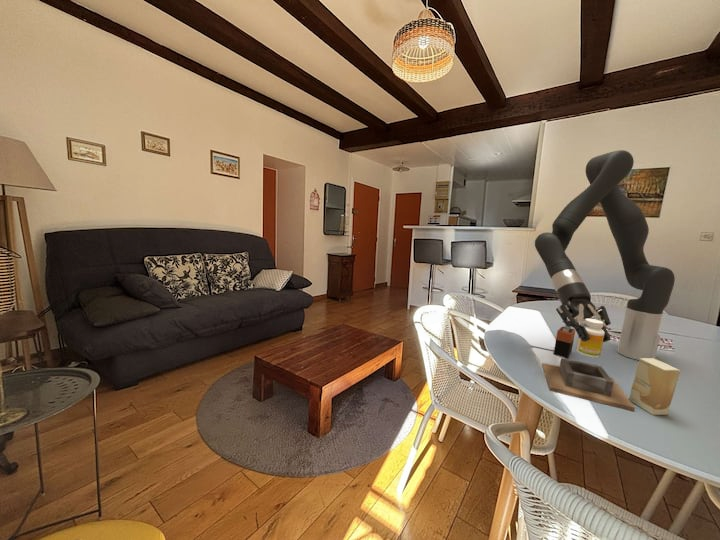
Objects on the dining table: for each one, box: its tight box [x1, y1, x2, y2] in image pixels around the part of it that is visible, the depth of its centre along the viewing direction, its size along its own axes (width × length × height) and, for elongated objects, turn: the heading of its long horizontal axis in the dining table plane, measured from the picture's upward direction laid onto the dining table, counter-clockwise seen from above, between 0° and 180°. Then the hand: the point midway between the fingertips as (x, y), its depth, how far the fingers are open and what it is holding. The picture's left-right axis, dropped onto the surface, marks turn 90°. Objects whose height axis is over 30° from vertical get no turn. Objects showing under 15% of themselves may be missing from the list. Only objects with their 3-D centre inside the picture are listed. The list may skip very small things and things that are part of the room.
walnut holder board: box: [541, 357, 636, 412], centre depth 83 cm, size 18×16×5 cm
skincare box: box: [628, 358, 681, 416], centre depth 73 cm, size 6×4×12 cm
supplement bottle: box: [575, 318, 605, 358], centre depth 81 cm, size 5×5×10 cm
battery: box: [553, 325, 576, 359], centre depth 103 cm, size 4×7×10 cm, turn 135°
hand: (596, 340), depth 79 cm, fingers closed on supplement bottle, 5 cm apart
